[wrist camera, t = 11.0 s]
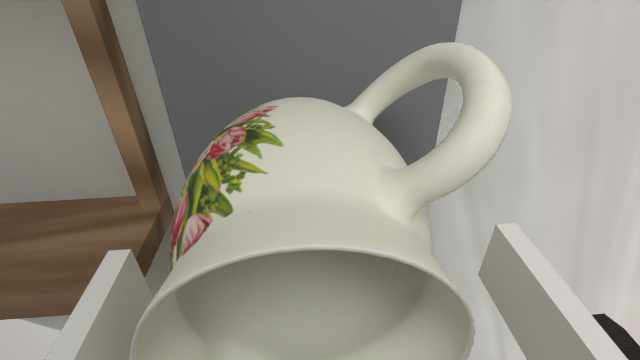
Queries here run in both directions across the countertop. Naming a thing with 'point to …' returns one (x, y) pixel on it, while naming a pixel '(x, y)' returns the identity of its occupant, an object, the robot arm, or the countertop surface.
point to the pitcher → (324, 229)
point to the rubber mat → (292, 61)
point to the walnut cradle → (87, 214)
